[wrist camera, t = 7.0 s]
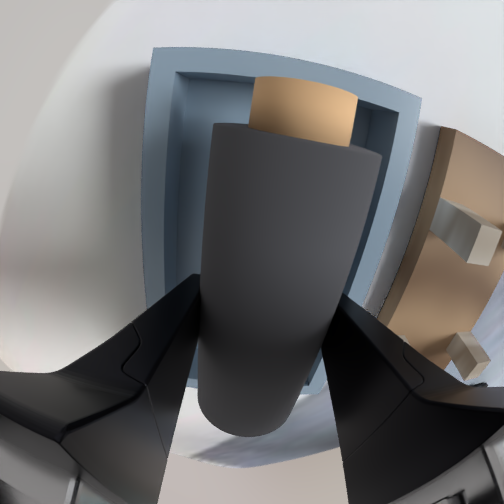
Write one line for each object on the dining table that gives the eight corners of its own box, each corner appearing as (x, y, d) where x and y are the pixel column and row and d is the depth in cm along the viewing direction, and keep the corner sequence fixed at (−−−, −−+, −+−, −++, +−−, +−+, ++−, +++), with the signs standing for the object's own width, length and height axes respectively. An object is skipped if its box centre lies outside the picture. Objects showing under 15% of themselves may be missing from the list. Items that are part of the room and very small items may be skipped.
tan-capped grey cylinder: (287, 363, 13) (297, 437, 9) (202, 357, 13) (193, 432, 9) (355, 106, 8) (427, 111, 4) (226, 82, 7) (210, 60, 4)
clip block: (432, 366, 18) (452, 405, 14) (347, 373, 17) (363, 424, 14) (522, 172, 11) (569, 196, 7) (441, 126, 10) (503, 142, 6)
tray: (310, 357, 16) (318, 394, 14) (167, 345, 16) (157, 382, 13) (386, 97, 10) (421, 98, 7) (174, 60, 9) (153, 47, 6)
